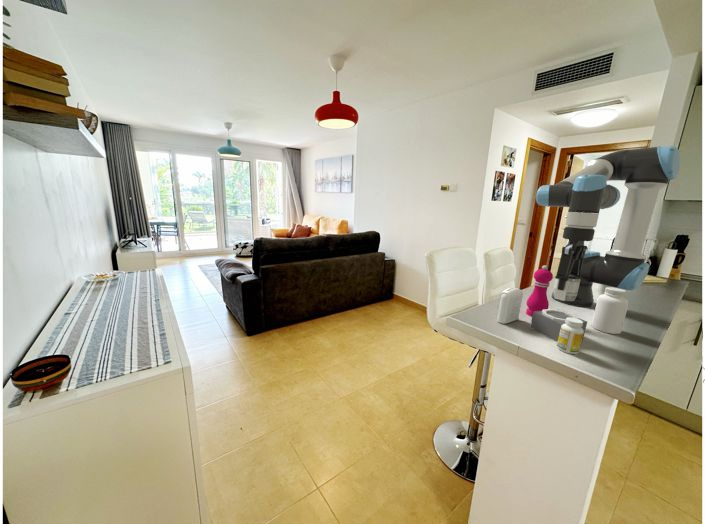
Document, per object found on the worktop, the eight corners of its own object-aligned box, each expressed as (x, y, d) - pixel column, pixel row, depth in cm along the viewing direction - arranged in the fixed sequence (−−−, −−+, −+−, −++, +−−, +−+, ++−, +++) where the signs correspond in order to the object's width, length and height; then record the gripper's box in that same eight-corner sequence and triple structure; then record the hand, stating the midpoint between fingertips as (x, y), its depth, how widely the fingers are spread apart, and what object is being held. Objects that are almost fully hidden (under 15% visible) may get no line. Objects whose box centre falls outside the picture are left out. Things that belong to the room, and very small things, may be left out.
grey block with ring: (554, 325, 101) (558, 308, 100) (583, 338, 92) (587, 319, 90) (530, 327, 98) (533, 309, 97) (557, 341, 89) (561, 322, 88)
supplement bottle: (555, 350, 84) (562, 320, 82) (556, 343, 88) (563, 314, 86) (578, 356, 81) (586, 325, 78) (578, 349, 85) (585, 319, 83)
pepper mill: (520, 312, 112) (529, 263, 108) (533, 310, 114) (543, 262, 110) (536, 319, 106) (547, 268, 101) (550, 318, 108) (561, 267, 103)
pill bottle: (602, 324, 105) (612, 285, 101) (626, 334, 97) (638, 292, 94) (585, 325, 103) (595, 285, 100) (608, 335, 95) (620, 293, 92)
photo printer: (508, 315, 108) (514, 284, 106) (519, 319, 105) (526, 288, 102) (493, 320, 103) (498, 288, 100) (505, 325, 99) (511, 292, 97)
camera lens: (569, 296, 95) (574, 273, 93) (579, 302, 89) (585, 278, 87) (548, 294, 96) (553, 271, 94) (557, 300, 90) (562, 276, 88)
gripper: (576, 225, 96) (561, 290, 101) (553, 226, 85) (538, 298, 90) (604, 227, 90) (587, 296, 95) (583, 229, 79) (565, 306, 84)
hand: (563, 297), depth 92 cm, fingers closed on camera lens, 6 cm apart
